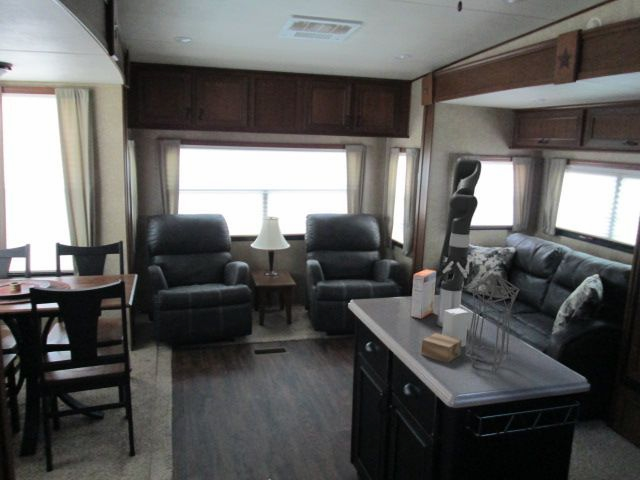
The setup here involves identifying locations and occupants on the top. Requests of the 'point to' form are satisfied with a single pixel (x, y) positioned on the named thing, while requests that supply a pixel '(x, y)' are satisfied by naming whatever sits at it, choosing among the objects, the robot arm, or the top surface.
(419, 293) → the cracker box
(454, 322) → the skincare box
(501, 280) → the geometric lantern
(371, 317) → the top surface
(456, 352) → the light brown block
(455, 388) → the top surface
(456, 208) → the robot arm
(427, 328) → the top surface
